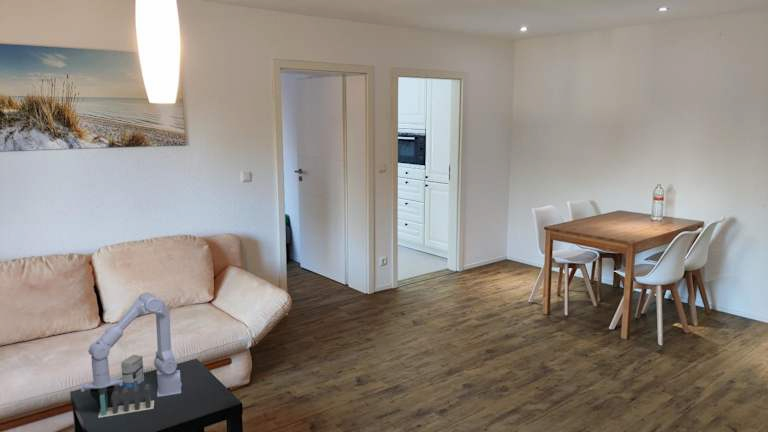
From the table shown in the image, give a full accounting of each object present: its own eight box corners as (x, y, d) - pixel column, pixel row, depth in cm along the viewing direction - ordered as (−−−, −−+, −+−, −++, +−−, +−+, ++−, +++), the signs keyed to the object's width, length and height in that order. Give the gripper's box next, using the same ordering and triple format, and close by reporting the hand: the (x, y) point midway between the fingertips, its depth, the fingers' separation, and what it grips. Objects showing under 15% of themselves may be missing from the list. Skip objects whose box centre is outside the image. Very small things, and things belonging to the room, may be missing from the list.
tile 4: (140, 403, 228) (138, 385, 227) (139, 409, 223) (138, 390, 222) (136, 404, 228) (134, 386, 226) (135, 410, 223) (133, 391, 222)
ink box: (132, 389, 241) (130, 363, 239) (122, 388, 242) (120, 362, 240) (144, 380, 250) (142, 355, 248) (134, 379, 250) (132, 354, 249)
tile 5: (150, 402, 229) (149, 383, 228) (150, 407, 225) (148, 389, 223) (146, 402, 229) (145, 384, 228) (146, 408, 224) (144, 389, 223)
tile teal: (107, 409, 224) (105, 390, 223) (106, 415, 219) (104, 396, 218) (103, 409, 223) (101, 391, 222) (101, 415, 219) (99, 396, 217)
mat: (154, 400, 231) (154, 400, 231) (153, 408, 224) (153, 408, 224) (100, 409, 224) (100, 409, 224) (98, 418, 218) (98, 417, 217)
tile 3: (129, 405, 227) (128, 387, 225) (128, 411, 222) (126, 392, 221) (125, 406, 226) (123, 387, 225) (124, 412, 222) (122, 393, 220)
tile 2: (118, 407, 225) (118, 388, 224) (117, 413, 221) (116, 394, 220) (114, 407, 225) (113, 389, 224) (113, 413, 220) (112, 394, 219)
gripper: (122, 365, 225) (125, 397, 227) (81, 371, 220) (85, 403, 222) (120, 372, 218) (123, 405, 221) (78, 378, 213) (82, 411, 216)
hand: (104, 404), depth 221 cm, fingers open, 3 cm apart
